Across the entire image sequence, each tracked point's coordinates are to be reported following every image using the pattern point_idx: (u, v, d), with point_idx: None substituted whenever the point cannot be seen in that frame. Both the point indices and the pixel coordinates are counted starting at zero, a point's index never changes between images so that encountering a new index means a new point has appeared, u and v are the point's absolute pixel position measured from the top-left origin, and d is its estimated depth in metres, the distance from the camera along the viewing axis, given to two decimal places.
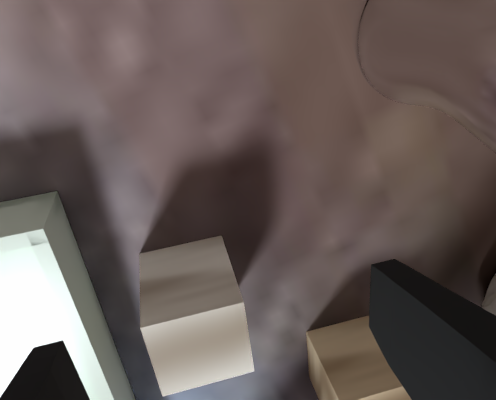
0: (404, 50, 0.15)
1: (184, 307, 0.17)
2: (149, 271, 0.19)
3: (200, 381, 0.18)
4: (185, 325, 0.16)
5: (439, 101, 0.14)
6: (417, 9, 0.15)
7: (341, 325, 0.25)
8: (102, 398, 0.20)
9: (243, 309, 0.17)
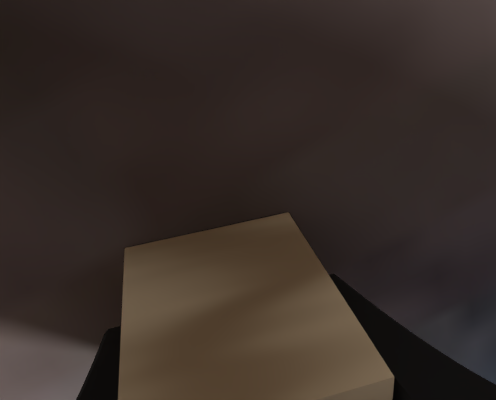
0: None
1: None
2: None
3: None
4: None
5: None
6: None
7: None
8: None
9: None
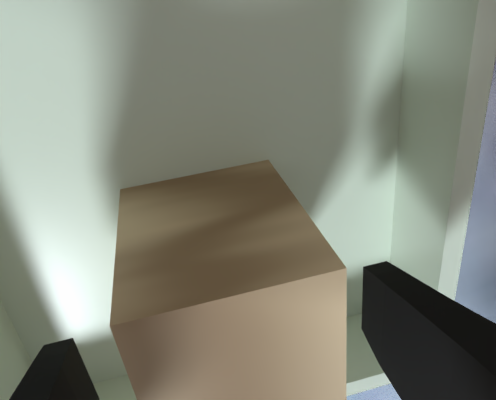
0: None
1: None
2: None
3: None
4: None
5: None
6: None
7: None
8: (469, 105, 0.09)
9: None
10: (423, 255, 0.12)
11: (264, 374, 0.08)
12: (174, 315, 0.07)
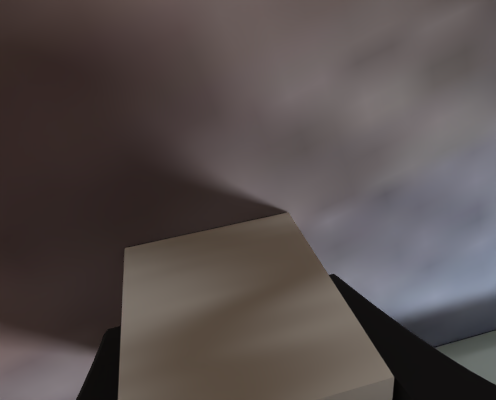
0: None
1: None
2: None
3: None
4: None
5: None
6: None
7: None
8: None
9: None
10: None
11: None
12: None
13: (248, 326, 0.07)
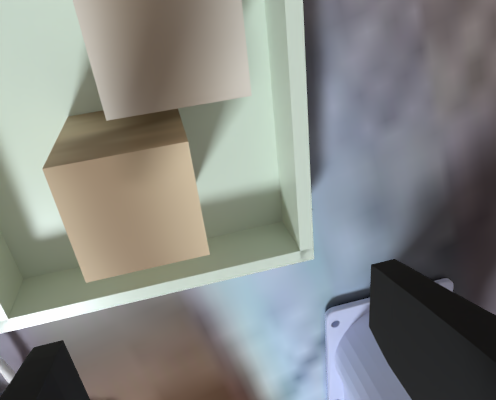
0: None
1: None
2: None
3: (234, 34, 0.11)
4: (105, 55, 0.11)
5: None
6: None
7: None
8: (292, 52, 0.14)
9: None
10: (289, 169, 0.17)
11: (146, 215, 0.13)
12: (81, 165, 0.12)
13: None
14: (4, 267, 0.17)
